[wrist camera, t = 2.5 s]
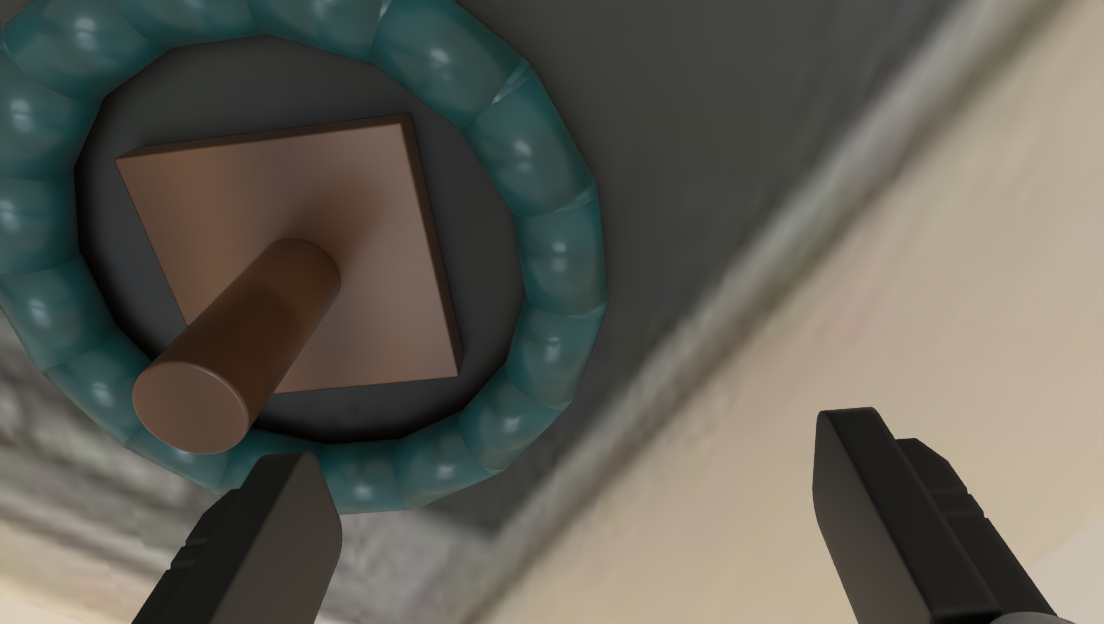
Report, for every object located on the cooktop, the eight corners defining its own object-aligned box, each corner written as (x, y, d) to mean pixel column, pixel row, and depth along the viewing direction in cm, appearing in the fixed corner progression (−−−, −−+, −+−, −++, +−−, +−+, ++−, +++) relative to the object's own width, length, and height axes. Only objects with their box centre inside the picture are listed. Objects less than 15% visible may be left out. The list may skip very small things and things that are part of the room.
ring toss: (234, 379, 23) (94, 558, 16) (137, 146, 19) (-96, 256, 13) (464, 357, 23) (418, 535, 16) (410, 112, 19) (319, 208, 12)
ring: (155, 497, 26) (119, 546, 24) (-121, -19, 18) (-216, -13, 15) (624, 459, 24) (629, 508, 22) (566, -124, 16) (565, -134, 14)
